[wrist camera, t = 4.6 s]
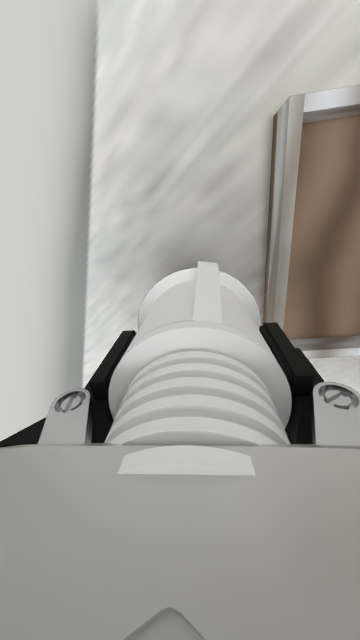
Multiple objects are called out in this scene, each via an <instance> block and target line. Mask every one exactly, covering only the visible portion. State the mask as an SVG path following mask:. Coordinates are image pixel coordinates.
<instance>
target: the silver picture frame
mask: <svg viewBox="0 0 360 640" xmlns="http://www.w3.org/2000/svg"><path fill="white" fill-rule="evenodd" d="M272 322H277V323H278V325H279V326H280V328H281V329H282V330H283V332H284V333H285V335H286V336H287V338H288V339H289V340H290V342H291V343H292V345H293V346H294V347H295V348H300V349H301V351H302V352H303V353H304V355H305V356H306V357H307V359H310V358H329V357H348V356H360V85H356V86H349V87H343V88H337V89H331V90H325V91H319V92H313V93H307V94H300V95H294V96H290V97H289V98H288V99H287V101H286V102H285V103H284V104H283V106H282V107H281V108H280V109H279V111H278V112H277V113H276V114H275V116H274V124H273V143H272V163H271V182H270V201H269V221H268V240H267V259H266V279H265V298H264V318H263V324H264V323H272Z"/></svg>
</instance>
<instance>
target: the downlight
mask: <svg viewBox="0 0 360 640" xmlns="http://www.w3.org/2000/svg"><path fill="white" fill-rule="evenodd" d="M260 326H261V316H260V311H259V308H258V305H257V303H256V301H255V299H254V297H253V296H252V294H251V293H250V292H249V290H248V289H247V288H246V287H245V286H244V285H243V284H242V283H241V282H240V281H238V280H237V279H236V278H234V277H232V276H231V275H229V274H226V273H224V272H221V271H219V266H218V265H217V263H213V262H202V261H198V267H197V268H189V269H184V270H180V271H177V272H174V273H172V274H170V275H168V276H166V277H165V278H163V279H162V280H160V281H159V282H158V283H157V284H156V285H155V286H154V287H153V288H152V289H151V290H150V291H149V293H148V294H147V296H146V297H145V299H144V301H143V303H142V305H141V308H140V311H139V316H138V332H137V334H136V335H135V337H134V339H133V340H132V342H131V344H130V345H129V347H128V349H127V350H126V352H125V354H124V355H123V357H122V359H121V360H120V362H119V364H118V365H117V367H116V369H115V371H114V373H113V375H112V378H111V381H110V385H109V407H110V411H111V414H112V417H113V420H114V422H113V424H112V426H111V429H110V432H109V433H108V435H107V438H106V440H105V442H104V443H112V444H120V445H177V446H163V447H155V448H150V449H145V450H140V451H137V452H134V453H130V454H127V455H125V456H124V458H123V461H122V463H121V466H120V469H119V471H118V474H190V475H250V476H256V474H255V471H254V467H253V464H252V460H251V457H250V456H248V455H245V454H242V453H238V452H234V451H230V450H226V449H220V448H214V447H205V446H191V445H268V444H290V442H289V439H288V437H287V434H286V432H285V428H286V426H287V423H288V421H289V417H290V414H291V407H292V398H291V391H290V387H289V383H288V381H287V378H286V376H285V374H284V372H283V371H282V369H281V367H280V365H279V364H278V362H277V361H276V359H275V357H274V355H273V354H272V352H271V350H270V348H269V347H268V345H267V343H266V342H265V340H264V338H263V336H262V335H261V333H260V331H259V327H260Z"/></svg>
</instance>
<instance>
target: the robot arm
mask: <svg viewBox="0 0 360 640" xmlns="http://www.w3.org/2000/svg"><path fill="white" fill-rule="evenodd" d="M259 331H260V333H261V335H262V336H263V338H264V340H265V342H266V343H267V345H268V347H269V348H270V350H271V352H272V354H273V355H274V357H275V359H276V361H277V362H278V364H279V365H280V367H281V369H282V371H283V372H284V374H285V376H286V378H287V381H288V383H289V387H290V391H291V398H292V407H291V414H290V417H289V421H288V423H287V426H286V428H285V432H286V434H287V437H288V439H289V442H290V444H268V445H191V446H205V447H214V448H220V449H226V450H230V451H234V452H238V453H242V454H245V455H248V456H250V457H251V460H252V464H253V467H254V471H255V474H256V476H250V475H190V474H118V471H119V469H120V466H121V463H122V461H123V458H124V456H125V455H127V454H130V453H134V452H137V451H140V450H145V449H150V448H155V447H163V446H177V445H120V444H112V443H104V442H105V440H106V438H107V435H108V433H109V432H110V429H111V426H112V424H113V422H114V420H113V417H112V414H111V411H110V407H109V385H110V381H111V378H112V375H113V373H114V371H115V369H116V367H117V365H118V364H119V362H120V360H121V359H122V357H123V355H124V354H125V352H126V350H127V349H128V347H129V345H130V344H131V342H132V340H133V339H134V337H135V335H136V334H137V333H135V331H134V330H133V331H123V332H122V333H121V335H120V336H119V338H118V339H117V341H116V342H115V344H114V345H113V347H112V348H111V350H110V351H109V352H108V354H107V355H106V357H105V358H104V360H103V361H102V363H101V364H100V366H99V367H98V369H97V370H96V372H95V373H94V375H93V376H92V378H91V379H90V381H89V382H88V384H87V385H86V387H85V388H84V389H83V388H77V389H72V390H70V391H67V392H65V393H63V394H61V395H60V396H59V397H57V398H56V399H55V400H54V401H53V402H52V404H51V406H50V409H49V412H48V415H47V417H46V418H44V419H42V420H40V421H38V422H36V423H34V424H33V425H31V426H29V427H27V428H25V429H23V430H21V431H19V432H18V433H16V434H14V435H12V436H10V437H8V438H7V439H5V440H2V441H1V442H0V640H360V394H359V393H358V392H357V391H355V390H354V389H352V388H351V387H348V386H346V385H343V384H340V383H336V382H324V380H323V379H322V378H321V376H320V375H319V374H318V372H317V371H316V370H315V368H314V367H313V365H312V364H311V363H310V361H309V360H308V359H307V357H306V356H305V355H304V353H303V352H302V351H301V349H300V348H295V347H294V346H293V345H292V343H291V342H290V340H289V339H288V338H287V336H286V335H285V333H284V332H283V330H282V329H281V328H280V326H279V325H278V323H277V322H272V323H264V324H263V326H260V327H259Z"/></svg>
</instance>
